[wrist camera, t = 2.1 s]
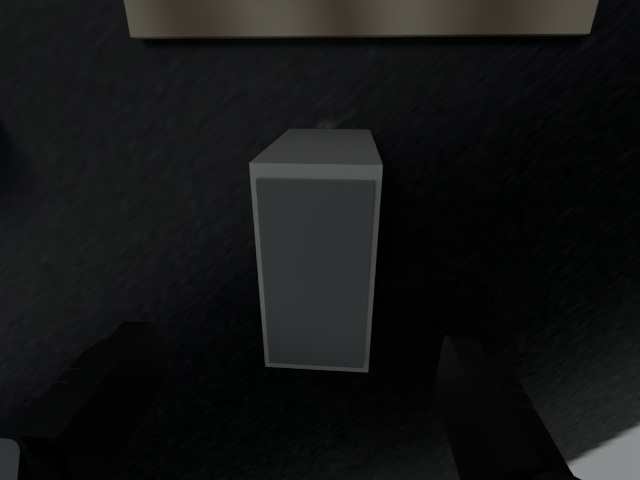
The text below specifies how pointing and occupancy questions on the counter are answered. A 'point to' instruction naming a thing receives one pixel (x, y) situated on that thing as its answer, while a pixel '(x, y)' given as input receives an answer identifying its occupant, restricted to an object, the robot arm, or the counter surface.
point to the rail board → (356, 18)
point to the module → (317, 247)
